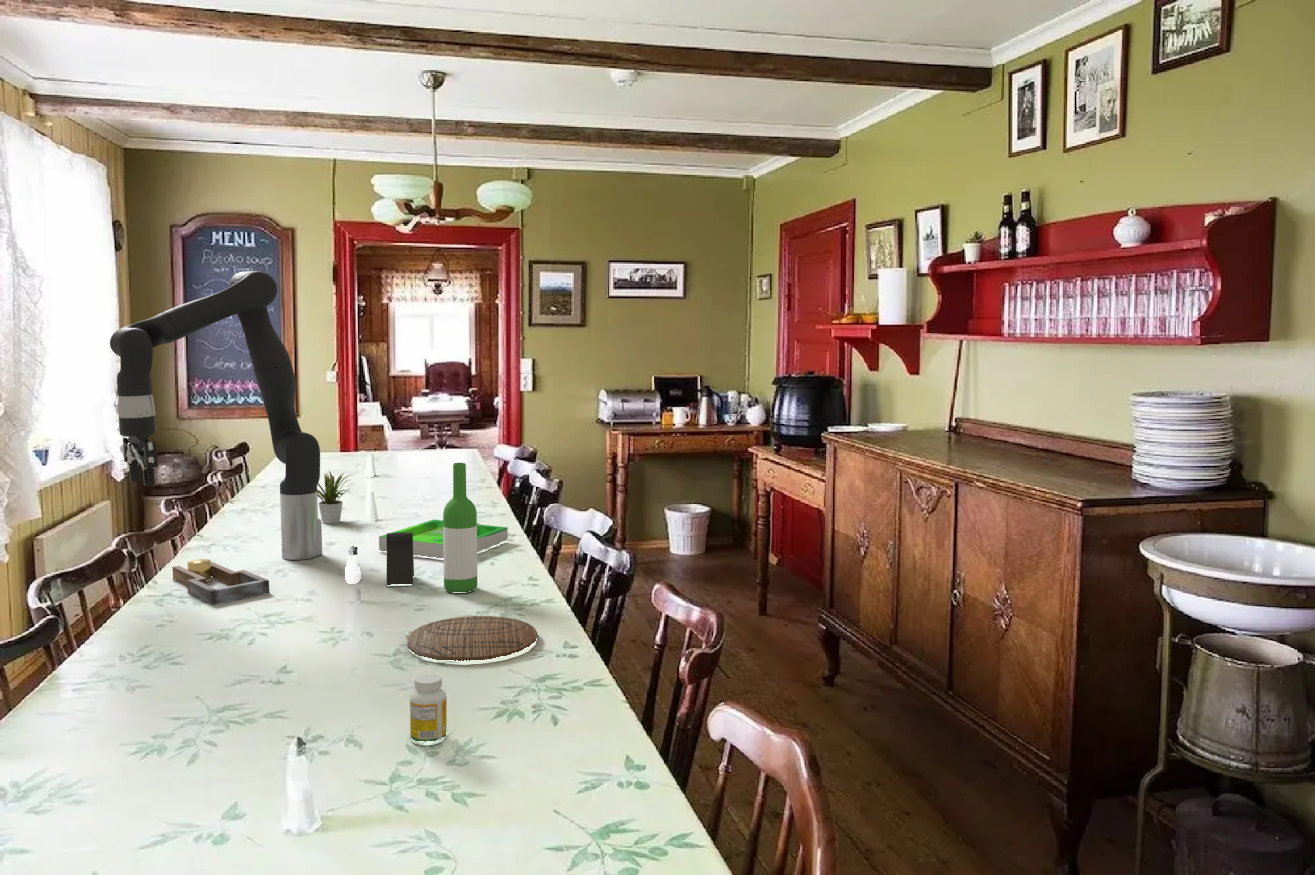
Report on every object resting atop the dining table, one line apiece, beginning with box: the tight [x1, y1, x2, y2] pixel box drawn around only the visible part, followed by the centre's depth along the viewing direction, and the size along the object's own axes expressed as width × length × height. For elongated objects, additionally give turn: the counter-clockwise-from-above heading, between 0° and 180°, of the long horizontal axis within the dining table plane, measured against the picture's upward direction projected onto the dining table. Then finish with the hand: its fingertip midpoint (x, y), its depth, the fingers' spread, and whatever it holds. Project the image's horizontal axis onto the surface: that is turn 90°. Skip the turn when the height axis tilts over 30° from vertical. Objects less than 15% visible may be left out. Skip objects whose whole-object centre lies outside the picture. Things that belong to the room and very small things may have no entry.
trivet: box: [407, 615, 538, 661], centre depth 188 cm, size 25×25×2 cm
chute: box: [171, 561, 270, 606], centre depth 224 cm, size 13×28×3 cm, turn 47°
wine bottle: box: [442, 462, 478, 593], centre depth 222 cm, size 8×8×30 cm
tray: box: [378, 519, 509, 558], centre depth 265 cm, size 25×25×5 cm
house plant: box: [317, 470, 356, 525], centre depth 295 cm, size 14×14×16 cm
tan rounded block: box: [187, 558, 212, 581], centre depth 230 cm, size 5×5×4 cm
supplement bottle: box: [409, 673, 448, 742], centre depth 144 cm, size 5×5×10 cm
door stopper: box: [386, 532, 415, 586], centre depth 230 cm, size 9×6×12 cm, turn 11°
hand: (142, 483), depth 224 cm, fingers open, 8 cm apart
